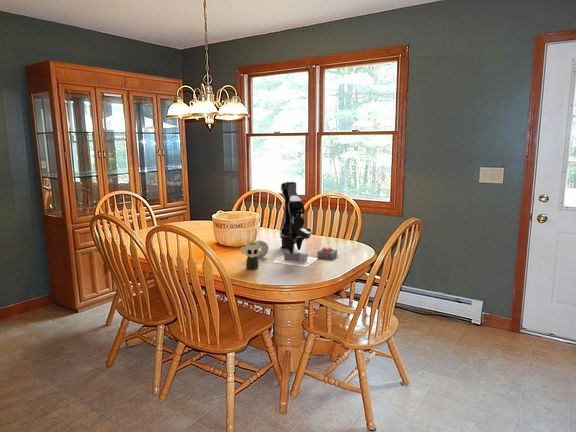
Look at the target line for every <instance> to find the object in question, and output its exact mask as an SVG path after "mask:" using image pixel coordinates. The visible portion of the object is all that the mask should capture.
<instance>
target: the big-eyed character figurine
mask: <svg viewBox="0 0 576 432" xmlns="http://www.w3.org/2000/svg"><path fill="white" fill-rule="evenodd" d="M240 252H241V254H244V255H245V256H246V257H247V258H246V261H245V262H246V264H245V266H246V269H248V270H249V269H250V270H253V269H258V268H259V262H258V261H259V260H258V259H259V258H257V257H256V256H258V255H259V253H262V252H263V247H262V246H259V243H258V242H255V241H248V242H245V243H244V246H242V247H241V248H240Z"/></svg>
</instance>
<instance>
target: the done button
mask: <svg viewBox="0 0 576 432" xmlns="http://www.w3.org/2000/svg"><path fill="white" fill-rule="evenodd" d="M322 248H323V252H330V253H331V252H332V249H333V247H330V246H324V247H322Z"/></svg>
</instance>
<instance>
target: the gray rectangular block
mask: <svg viewBox="0 0 576 432" xmlns="http://www.w3.org/2000/svg"><path fill="white" fill-rule="evenodd" d="M283 255H284V260H291V261H298V262H306V261H307V257H308V252H306V253H305V252H295V251H293V254H291V253H290V251H289V250H288V251H285V252H283Z"/></svg>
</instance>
